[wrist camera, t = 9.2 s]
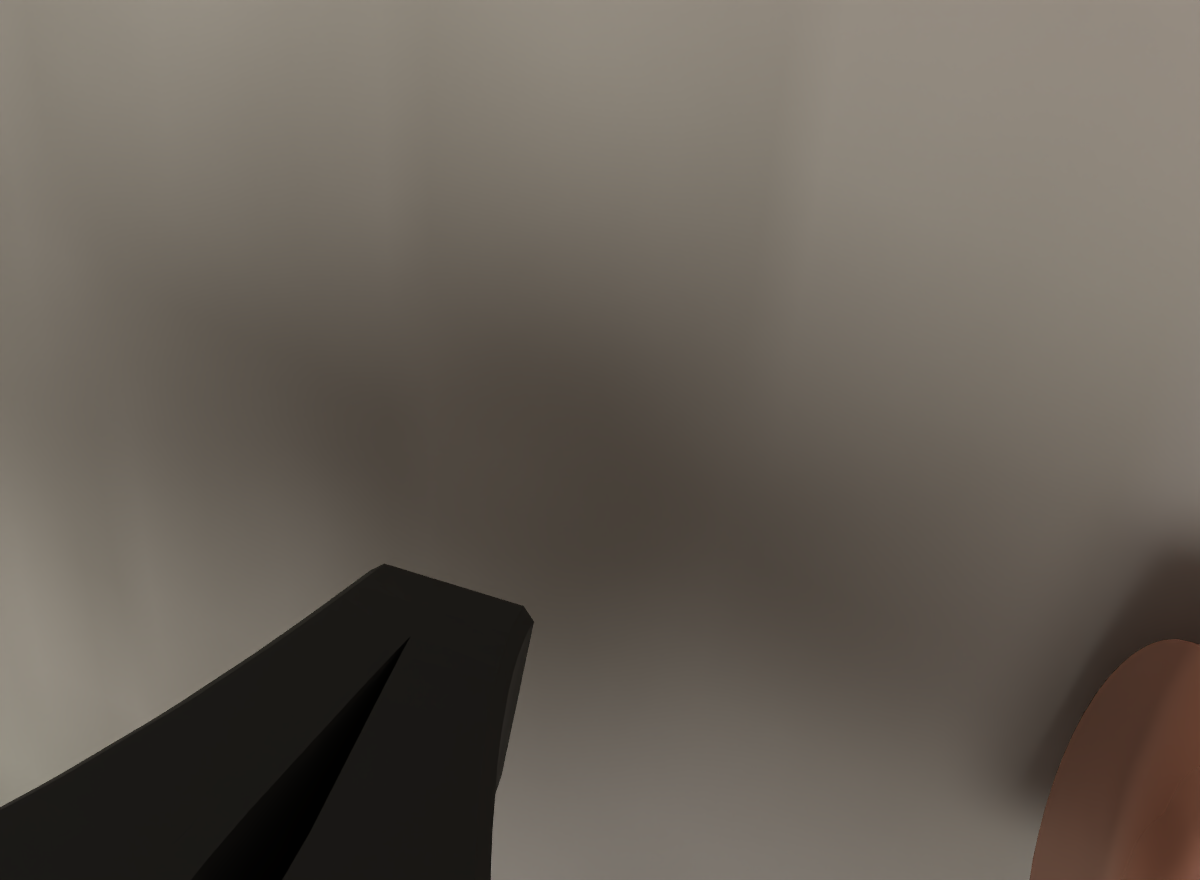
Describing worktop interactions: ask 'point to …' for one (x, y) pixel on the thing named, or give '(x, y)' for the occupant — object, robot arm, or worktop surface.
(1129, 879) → the inner knob
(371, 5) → the worktop surface
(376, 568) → the robot arm
